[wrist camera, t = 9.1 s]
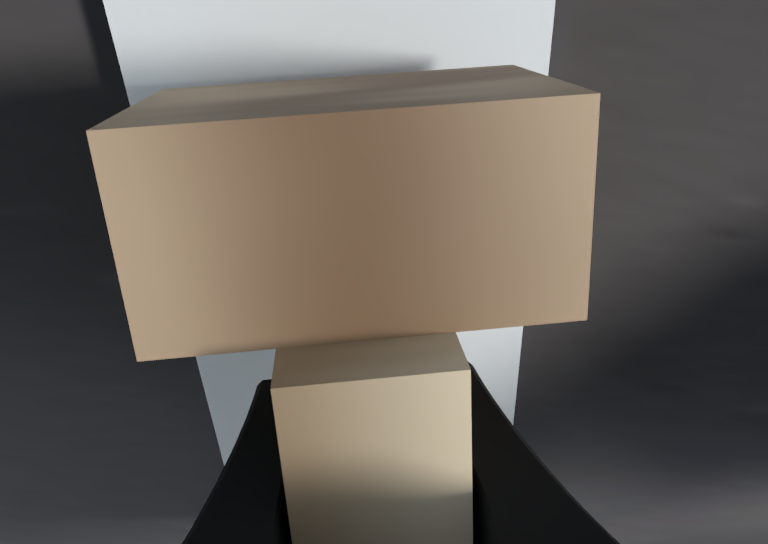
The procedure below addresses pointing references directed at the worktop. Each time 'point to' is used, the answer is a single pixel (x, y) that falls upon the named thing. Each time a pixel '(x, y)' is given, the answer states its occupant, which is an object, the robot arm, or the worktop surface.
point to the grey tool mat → (323, 60)
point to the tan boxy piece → (355, 263)
